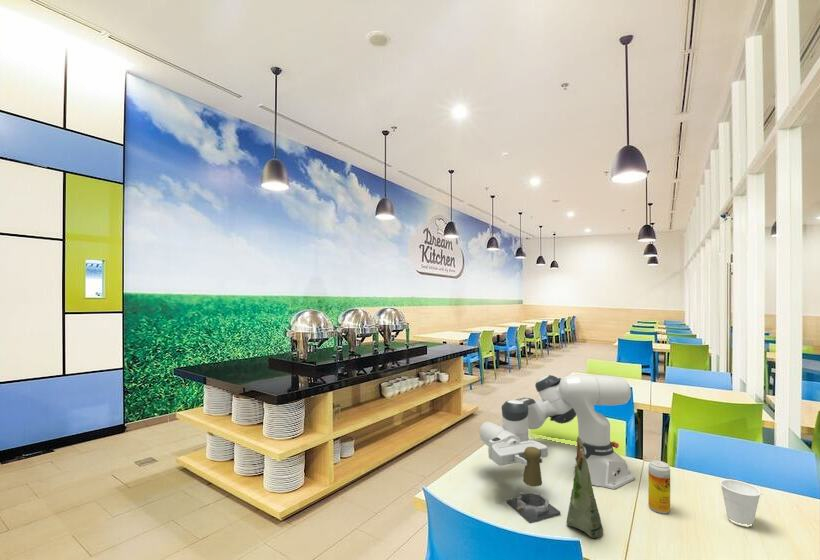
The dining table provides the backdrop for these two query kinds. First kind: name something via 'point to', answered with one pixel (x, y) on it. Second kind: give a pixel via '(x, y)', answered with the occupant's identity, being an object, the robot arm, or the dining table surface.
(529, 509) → the hub socket
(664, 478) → the pill bottle
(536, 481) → the cork
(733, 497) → the cup
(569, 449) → the dining table surface
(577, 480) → the pouch
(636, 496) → the dining table surface
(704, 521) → the dining table surface
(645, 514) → the dining table surface
